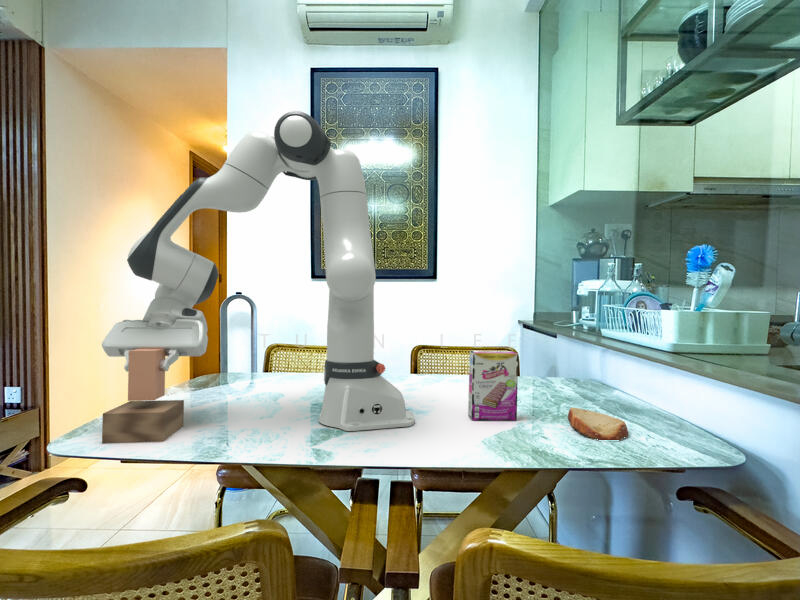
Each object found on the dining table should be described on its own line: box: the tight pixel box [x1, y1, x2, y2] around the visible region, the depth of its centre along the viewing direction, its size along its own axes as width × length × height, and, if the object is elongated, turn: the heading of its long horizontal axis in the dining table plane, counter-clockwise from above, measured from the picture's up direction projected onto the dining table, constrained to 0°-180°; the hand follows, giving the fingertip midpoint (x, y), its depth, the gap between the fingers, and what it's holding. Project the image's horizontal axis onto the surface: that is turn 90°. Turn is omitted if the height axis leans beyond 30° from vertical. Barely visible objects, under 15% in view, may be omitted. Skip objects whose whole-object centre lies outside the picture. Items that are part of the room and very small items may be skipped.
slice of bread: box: [567, 407, 629, 441], centre depth 98 cm, size 18×18×4 cm
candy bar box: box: [467, 350, 519, 421], centre depth 104 cm, size 11×5×16 cm, turn 92°
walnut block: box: [101, 399, 185, 445], centre depth 88 cm, size 11×11×6 cm
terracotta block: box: [127, 349, 166, 402], centre depth 89 cm, size 5×5×10 cm
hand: (145, 369), depth 88 cm, fingers closed on terracotta block, 5 cm apart
